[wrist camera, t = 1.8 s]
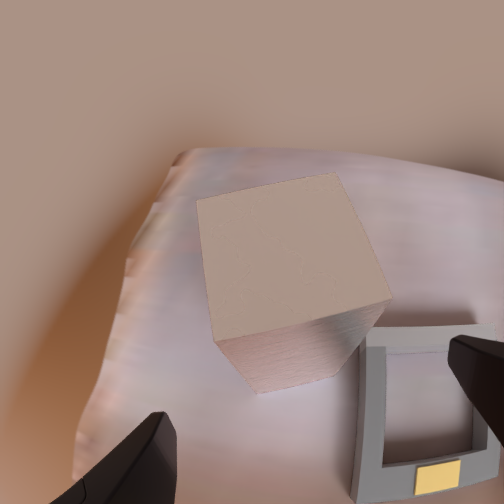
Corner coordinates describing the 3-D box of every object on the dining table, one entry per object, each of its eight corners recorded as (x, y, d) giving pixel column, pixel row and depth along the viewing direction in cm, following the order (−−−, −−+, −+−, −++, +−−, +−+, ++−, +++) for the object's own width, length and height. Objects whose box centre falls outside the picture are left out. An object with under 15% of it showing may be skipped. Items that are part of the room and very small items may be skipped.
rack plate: (482, 475, 13) (499, 476, 11) (349, 497, 14) (357, 505, 12) (481, 332, 18) (495, 321, 16) (359, 336, 20) (366, 326, 18)
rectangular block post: (334, 376, 19) (392, 297, 8) (257, 394, 19) (213, 341, 8) (314, 307, 21) (335, 172, 11) (243, 323, 21) (196, 200, 11)
